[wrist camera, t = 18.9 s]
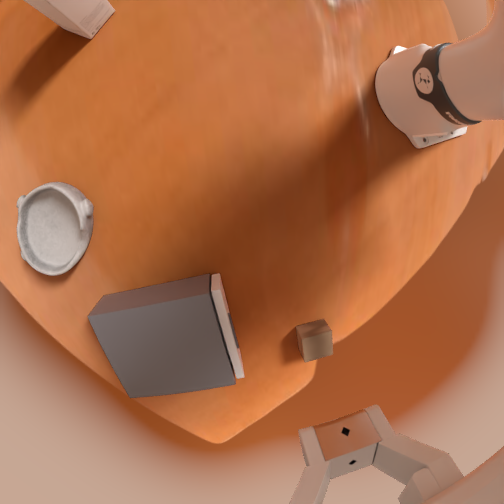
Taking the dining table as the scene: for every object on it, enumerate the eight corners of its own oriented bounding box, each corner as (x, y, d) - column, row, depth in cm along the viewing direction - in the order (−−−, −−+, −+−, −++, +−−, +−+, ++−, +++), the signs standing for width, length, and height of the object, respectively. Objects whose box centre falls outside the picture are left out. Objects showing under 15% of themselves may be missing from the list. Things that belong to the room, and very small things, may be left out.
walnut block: (323, 318, 47) (331, 330, 43) (325, 341, 48) (333, 354, 45) (295, 326, 47) (301, 339, 43) (298, 349, 48) (304, 362, 44)
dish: (104, 188, 37) (90, 192, 32) (93, 275, 40) (80, 288, 35) (32, 174, 34) (14, 176, 29) (25, 254, 38) (10, 263, 33)
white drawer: (221, 272, 42) (222, 288, 37) (242, 355, 47) (246, 376, 41) (110, 295, 41) (98, 312, 36) (144, 371, 46) (138, 392, 40)
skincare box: (116, 11, 28) (83, -38, 13) (90, 42, 29) (44, 1, 14) (84, 1, 26) (47, -42, 11) (60, 30, 27) (14, -5, 12)
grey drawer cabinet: (209, 273, 42) (208, 293, 36) (232, 357, 47) (235, 384, 40) (103, 295, 41) (87, 316, 34) (137, 372, 46) (130, 398, 39)
